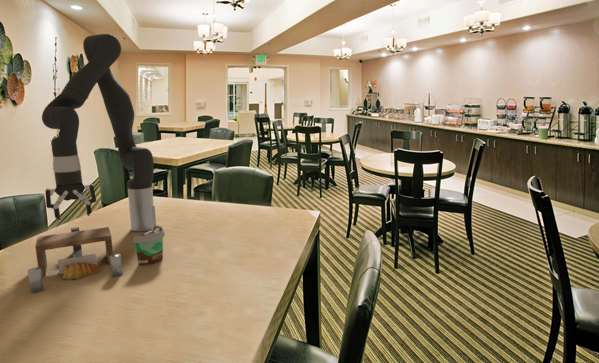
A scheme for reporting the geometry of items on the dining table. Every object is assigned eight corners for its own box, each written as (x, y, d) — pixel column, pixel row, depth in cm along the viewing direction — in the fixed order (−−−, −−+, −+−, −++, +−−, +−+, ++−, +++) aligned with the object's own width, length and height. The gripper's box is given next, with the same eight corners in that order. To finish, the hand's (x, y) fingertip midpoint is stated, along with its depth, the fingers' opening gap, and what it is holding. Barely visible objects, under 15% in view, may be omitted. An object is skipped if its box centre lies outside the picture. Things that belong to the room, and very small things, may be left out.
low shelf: (111, 253, 135) (108, 227, 133) (114, 263, 127) (111, 235, 125) (41, 265, 126) (37, 236, 124) (39, 277, 117) (35, 246, 115)
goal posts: (121, 271, 121) (120, 253, 119) (123, 275, 118) (121, 256, 117) (31, 289, 110) (28, 268, 108) (30, 293, 107) (27, 272, 106)
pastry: (97, 267, 124) (96, 256, 124) (99, 275, 119) (98, 263, 118) (62, 274, 120) (61, 262, 119) (63, 282, 114) (61, 270, 113)
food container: (153, 268, 123) (151, 237, 121) (135, 267, 124) (132, 236, 122) (173, 254, 135) (171, 225, 133) (157, 252, 136) (154, 224, 134)
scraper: (94, 249, 140) (91, 225, 138) (96, 267, 124) (93, 240, 122) (61, 254, 135) (57, 229, 133) (59, 274, 119) (56, 246, 118)
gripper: (91, 165, 136) (97, 211, 139) (42, 169, 129) (49, 217, 132) (92, 168, 129) (98, 216, 133) (40, 173, 122) (48, 223, 126)
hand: (74, 217), depth 132 cm, fingers open, 8 cm apart
